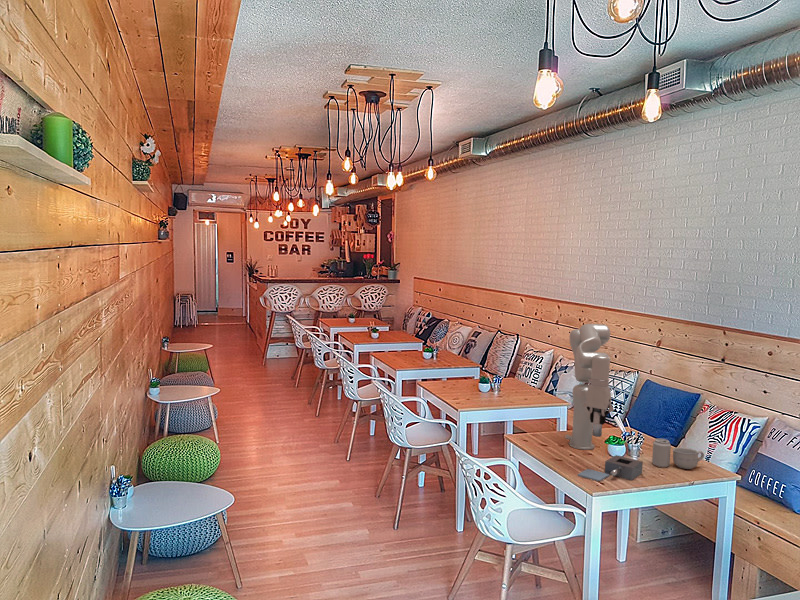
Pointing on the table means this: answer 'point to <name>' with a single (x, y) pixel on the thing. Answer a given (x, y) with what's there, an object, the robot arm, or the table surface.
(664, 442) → the can
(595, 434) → the grey tall cylinder
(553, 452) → the table surface
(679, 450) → the teacup
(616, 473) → the block
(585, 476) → the mat
